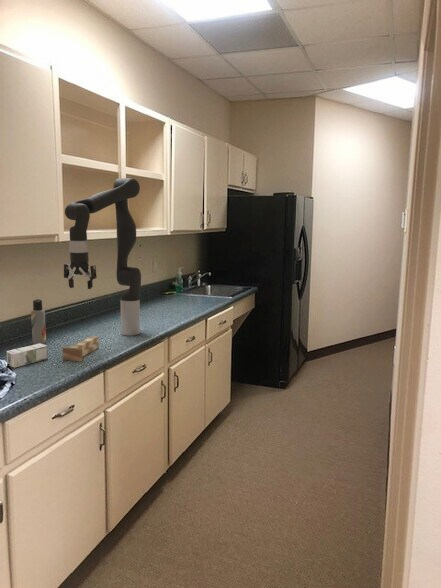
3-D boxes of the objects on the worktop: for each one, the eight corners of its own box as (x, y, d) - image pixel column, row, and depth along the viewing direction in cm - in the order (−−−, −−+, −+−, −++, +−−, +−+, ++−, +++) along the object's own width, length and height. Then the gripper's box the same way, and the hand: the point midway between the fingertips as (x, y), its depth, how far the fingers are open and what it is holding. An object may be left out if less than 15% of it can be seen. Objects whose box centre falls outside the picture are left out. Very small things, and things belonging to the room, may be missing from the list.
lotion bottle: (47, 341, 210) (46, 298, 207) (43, 344, 205) (41, 301, 201) (35, 341, 210) (33, 298, 207) (30, 344, 205) (28, 300, 201)
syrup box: (39, 342, 188) (5, 350, 177) (47, 345, 184) (13, 354, 173) (40, 356, 189) (6, 364, 178) (48, 359, 185) (14, 368, 174)
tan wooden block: (87, 346, 204) (87, 335, 203) (103, 348, 202) (103, 337, 202) (62, 359, 186) (62, 347, 185) (80, 361, 184) (80, 349, 183)
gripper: (98, 250, 197) (99, 287, 200) (68, 249, 200) (70, 286, 203) (89, 252, 189) (91, 290, 193) (59, 251, 192) (61, 289, 196)
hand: (80, 288), depth 198 cm, fingers open, 8 cm apart
